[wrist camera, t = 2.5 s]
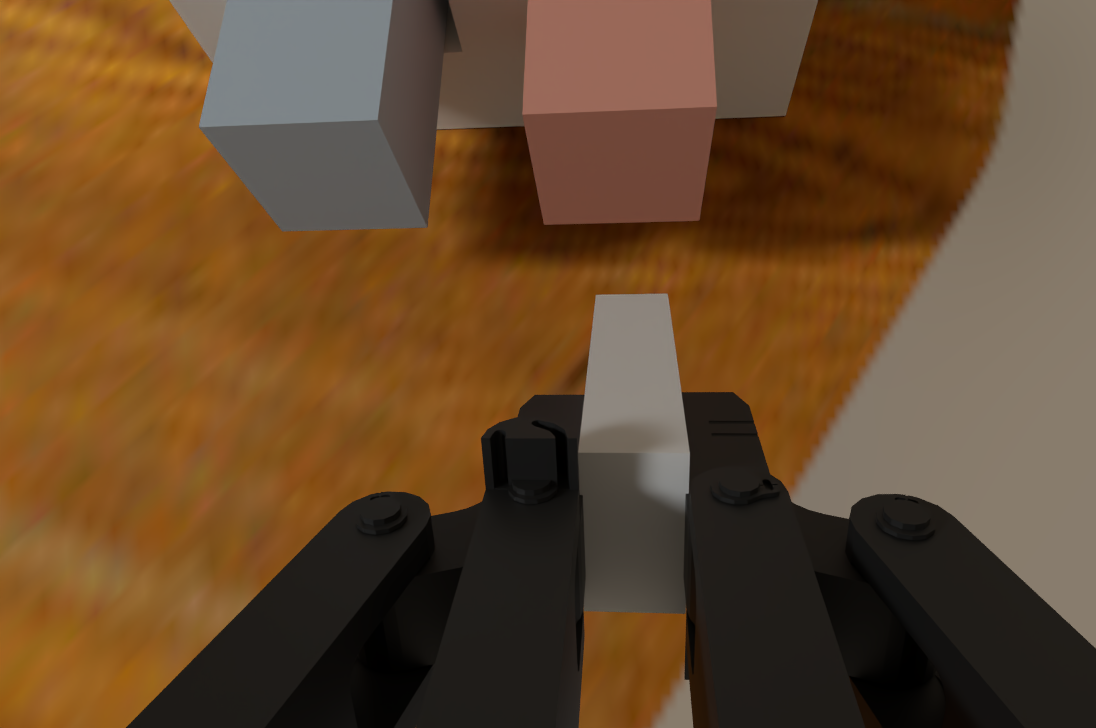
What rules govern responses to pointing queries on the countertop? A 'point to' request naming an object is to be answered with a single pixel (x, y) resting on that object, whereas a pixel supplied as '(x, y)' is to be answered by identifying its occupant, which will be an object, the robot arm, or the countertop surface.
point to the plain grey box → (500, 40)
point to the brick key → (619, 108)
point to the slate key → (330, 108)
